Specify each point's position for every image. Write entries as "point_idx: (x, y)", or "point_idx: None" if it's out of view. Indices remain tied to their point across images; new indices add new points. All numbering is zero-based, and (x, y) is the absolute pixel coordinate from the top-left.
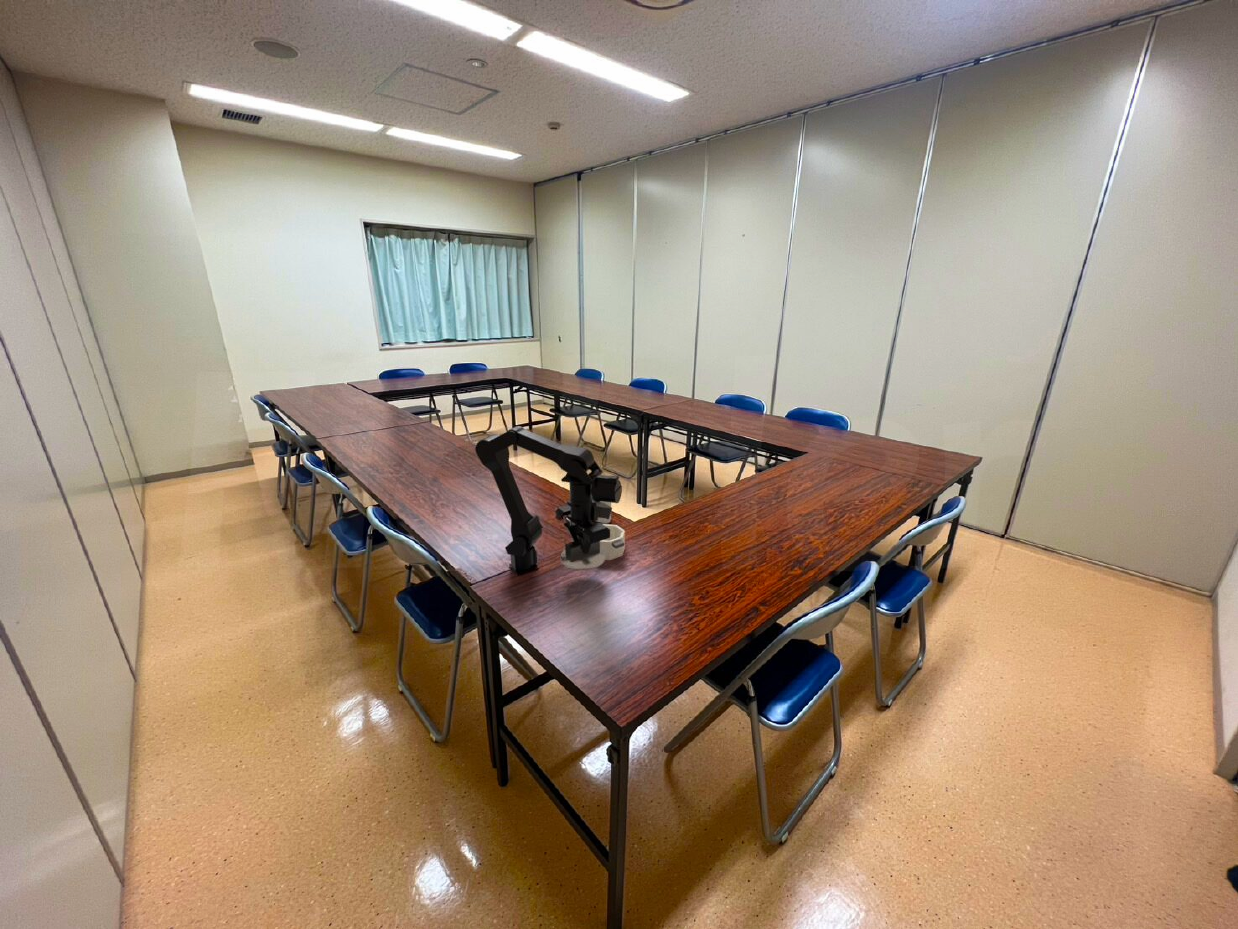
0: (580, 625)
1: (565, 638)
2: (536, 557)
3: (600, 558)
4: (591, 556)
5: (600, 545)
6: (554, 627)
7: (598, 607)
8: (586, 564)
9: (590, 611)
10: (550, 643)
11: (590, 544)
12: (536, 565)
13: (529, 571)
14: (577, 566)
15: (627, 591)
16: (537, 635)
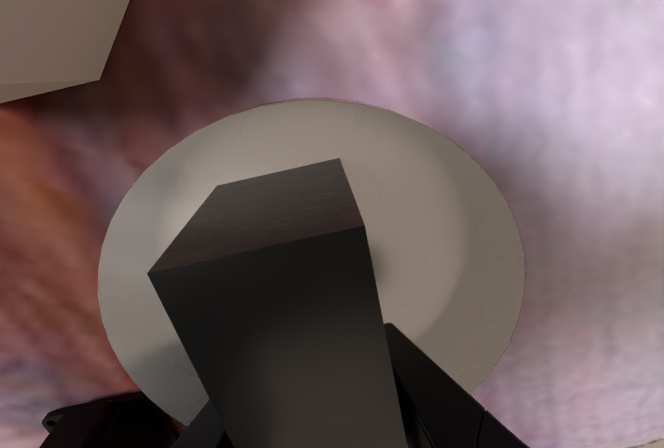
0: (628, 326)
1: (647, 380)
2: (94, 436)
3: (460, 198)
4: (380, 263)
5: (26, 19)
6: (573, 398)
7: (582, 231)
8: (481, 334)
9: (582, 270)
10: (632, 419)
11: (474, 409)
12: (129, 403)
13: (172, 426)
14: (469, 392)
15: (569, 19)
16: (572, 442)
